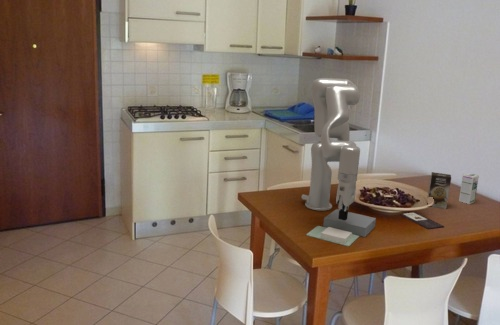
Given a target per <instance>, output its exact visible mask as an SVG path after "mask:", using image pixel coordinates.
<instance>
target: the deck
mask: <svg viewBox="0 0 500 325" xmlns="http://www.w3.org/2000/svg"><path fill="white" fill-rule="evenodd" d="M338 217H339V208H336V209H334V210H333V211H332V212H330V213H329V214H328V215H326V216H324V217H323V224H322V225H323V226H322V227H325V228H328V227H331V228H335V229H340V230H344V231H348V232H352V234H353V235H357V236H359V237H361V238H366V236H368V235H369V234H370V232H371V231H373V229H375V228H376V221H377V218H376V217H371V216H368V215H364V214H359V213H355V212H351V211H350V212H349V211H348V216H347V220H341V219H338Z"/></svg>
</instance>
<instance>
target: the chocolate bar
mask: <svg viewBox="0 0 500 325" xmlns="http://www.w3.org/2000/svg"><path fill="white" fill-rule="evenodd" d="M400 216H401V217H403V218H405V219H407V220H409V221H411V222H413V223H415V224H417V225H419V226H420V227H422V228H424V229H426V230H435V229H443V228H445V226H444V225H442V224H441V223H438V222H437V221H434V220H432V219H430V218H428V217H427V216H424V215H422V214H420V213H419V212H409V213H408V212H406V213H400Z"/></svg>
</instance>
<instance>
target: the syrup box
mask: <svg viewBox="0 0 500 325" xmlns="http://www.w3.org/2000/svg"><path fill="white" fill-rule="evenodd" d="M461 177H462V178H461V184H460V191H459V199H458V202H459V203H462V202H463V204H466V203H467V204H466V205H471V204H473V203H475V202H476V195H477V189H478V184H479V183H478V182H479V178H480V177H479V175H478V174H475V173H469V172H468V173H465V174H462V176H461Z"/></svg>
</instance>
